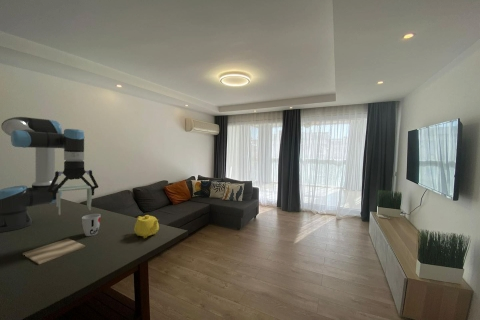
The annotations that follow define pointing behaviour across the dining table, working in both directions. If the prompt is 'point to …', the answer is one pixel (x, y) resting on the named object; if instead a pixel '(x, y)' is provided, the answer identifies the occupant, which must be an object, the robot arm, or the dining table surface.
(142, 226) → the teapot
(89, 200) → the cover
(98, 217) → the cup
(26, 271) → the dining table surface
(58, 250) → the mat
